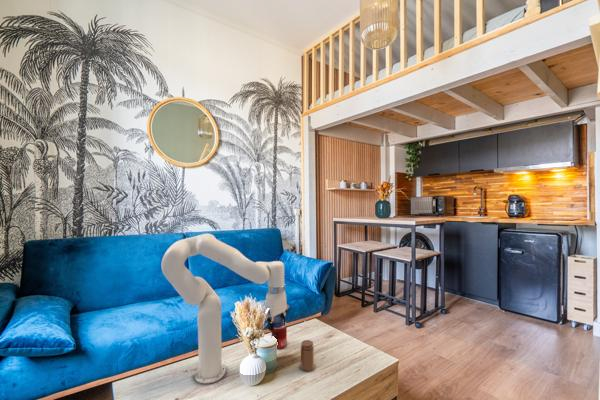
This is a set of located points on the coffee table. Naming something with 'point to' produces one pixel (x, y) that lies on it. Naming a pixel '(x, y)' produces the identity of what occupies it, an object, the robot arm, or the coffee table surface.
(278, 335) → the canned food
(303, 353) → the jar
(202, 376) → the robot arm
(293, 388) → the coffee table surface
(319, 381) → the coffee table surface
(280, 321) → the lid
